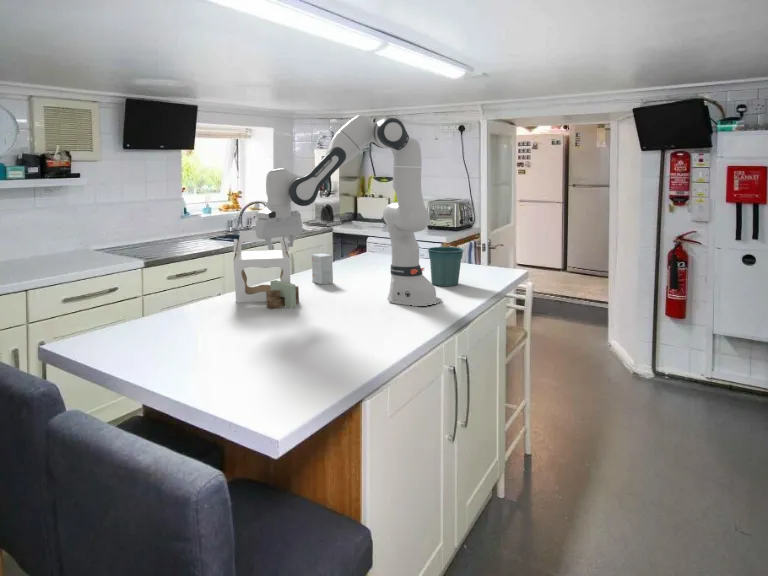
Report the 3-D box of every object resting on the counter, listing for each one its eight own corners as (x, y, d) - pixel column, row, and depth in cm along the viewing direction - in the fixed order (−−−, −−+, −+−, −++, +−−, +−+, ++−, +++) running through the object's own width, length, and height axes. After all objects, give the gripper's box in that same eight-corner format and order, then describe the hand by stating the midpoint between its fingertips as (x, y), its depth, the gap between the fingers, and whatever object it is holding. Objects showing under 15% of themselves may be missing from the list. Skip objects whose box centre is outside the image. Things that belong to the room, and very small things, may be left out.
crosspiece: (296, 307, 225) (295, 284, 223) (291, 308, 223) (290, 285, 221) (276, 302, 233) (275, 280, 231) (271, 303, 231) (270, 281, 229)
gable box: (290, 292, 248) (288, 227, 242) (291, 300, 236) (289, 231, 230) (237, 295, 244) (233, 229, 238) (235, 303, 232) (231, 233, 226)
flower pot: (436, 278, 276) (437, 245, 272) (468, 282, 268) (469, 247, 264) (420, 285, 262) (421, 250, 259) (454, 289, 254) (455, 253, 250)
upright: (294, 301, 234) (294, 285, 232) (299, 302, 232) (298, 286, 231) (267, 308, 223) (266, 291, 222) (271, 309, 222) (270, 292, 220)
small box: (333, 283, 267) (332, 255, 265) (321, 284, 264) (320, 256, 261) (323, 280, 274) (322, 252, 271) (312, 282, 270) (311, 254, 267)
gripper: (294, 209, 229) (296, 244, 232) (252, 213, 214) (254, 250, 217) (305, 210, 225) (306, 245, 228) (262, 214, 210) (264, 252, 213)
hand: (280, 248), depth 223 cm, fingers open, 8 cm apart
